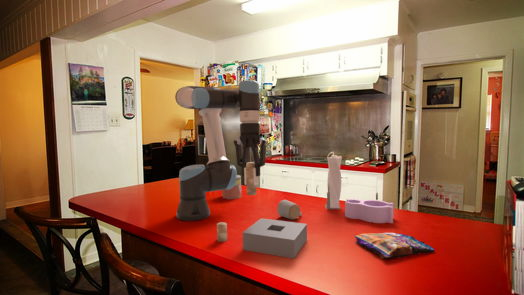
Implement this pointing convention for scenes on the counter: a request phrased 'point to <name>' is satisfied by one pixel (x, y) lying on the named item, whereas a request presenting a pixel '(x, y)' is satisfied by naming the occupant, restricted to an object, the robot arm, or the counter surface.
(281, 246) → the hole block
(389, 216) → the clip
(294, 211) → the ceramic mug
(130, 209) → the counter surface
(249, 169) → the long pin
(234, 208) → the counter surface
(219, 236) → the short pin
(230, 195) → the canned food
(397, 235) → the food package
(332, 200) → the skyscraper
